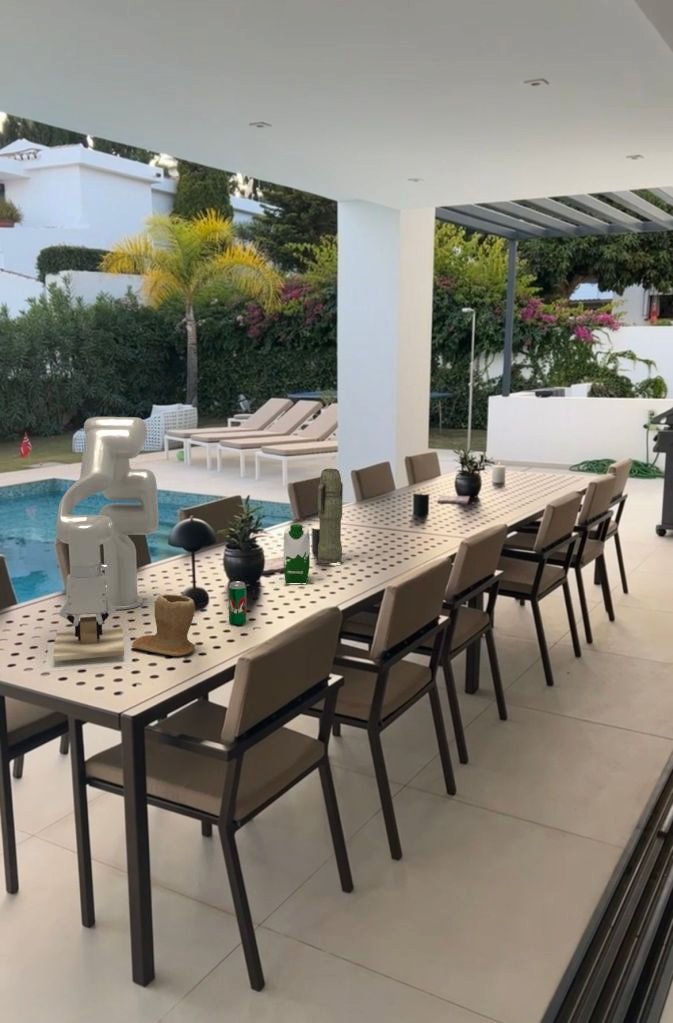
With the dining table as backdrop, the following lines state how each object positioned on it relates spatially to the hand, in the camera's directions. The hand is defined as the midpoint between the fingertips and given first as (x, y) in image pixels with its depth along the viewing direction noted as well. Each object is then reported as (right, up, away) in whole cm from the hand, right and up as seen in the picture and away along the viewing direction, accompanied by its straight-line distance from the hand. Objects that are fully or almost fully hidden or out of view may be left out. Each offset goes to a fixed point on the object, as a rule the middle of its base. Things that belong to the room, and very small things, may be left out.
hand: (89, 637), depth 221 cm
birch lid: (0, -2, 0) cm, 2 cm away
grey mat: (0, -5, 0) cm, 5 cm away
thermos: (+61, +13, +95) cm, 114 cm away
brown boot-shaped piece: (+20, -4, +5) cm, 21 cm away
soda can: (+35, 0, +27) cm, 44 cm away
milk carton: (+50, +8, +71) cm, 87 cm away
